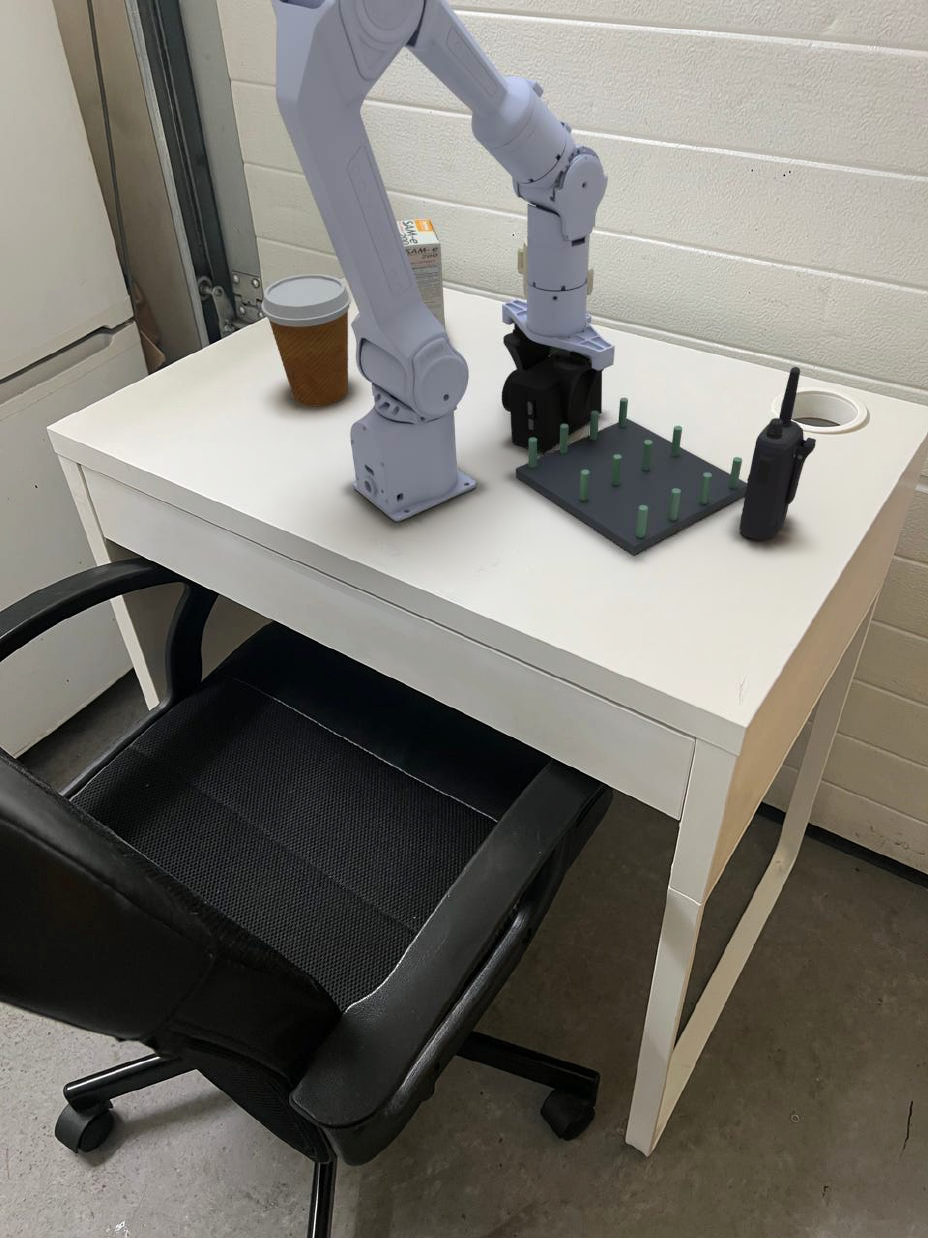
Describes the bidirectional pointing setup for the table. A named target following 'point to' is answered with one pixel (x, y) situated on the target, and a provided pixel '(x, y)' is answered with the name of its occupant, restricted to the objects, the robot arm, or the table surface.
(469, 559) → the table surface
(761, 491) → the two-way radio
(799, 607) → the table surface
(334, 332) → the disposable coffee cup
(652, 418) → the table surface
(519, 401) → the digital camera
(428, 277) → the supplement box
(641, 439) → the rack
